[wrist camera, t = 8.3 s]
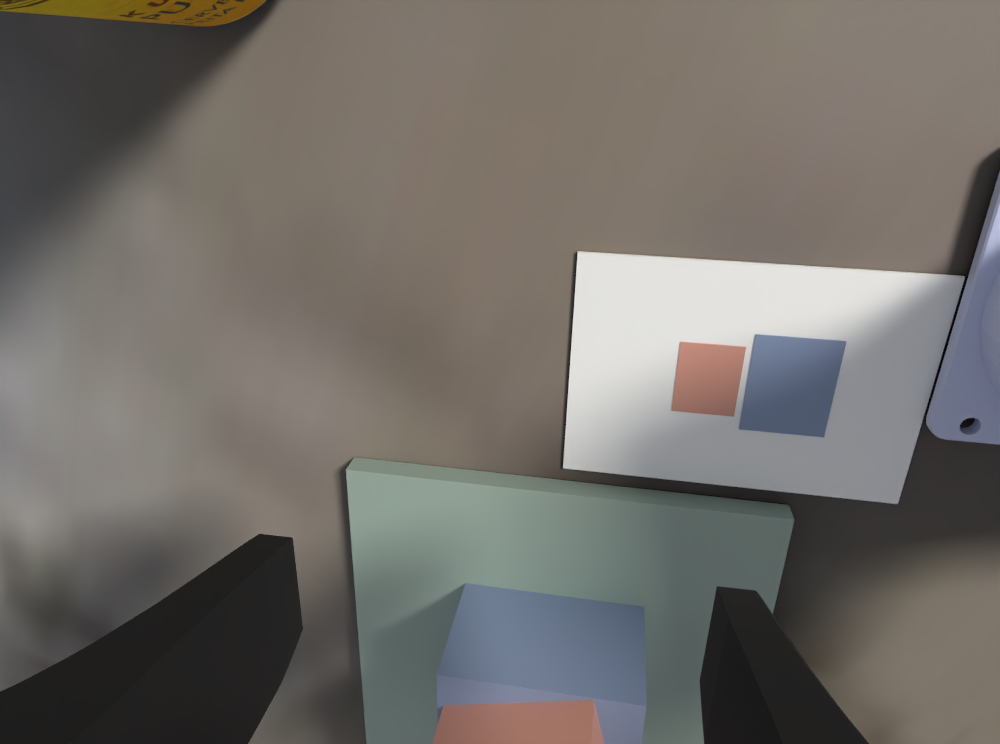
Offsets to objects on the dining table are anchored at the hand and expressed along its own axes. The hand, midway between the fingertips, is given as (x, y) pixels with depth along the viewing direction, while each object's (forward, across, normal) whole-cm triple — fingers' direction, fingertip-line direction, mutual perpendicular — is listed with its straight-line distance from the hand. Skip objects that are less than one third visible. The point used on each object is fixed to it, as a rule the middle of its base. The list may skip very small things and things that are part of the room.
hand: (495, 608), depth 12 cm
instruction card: (+10, -6, 0) cm, 12 cm away
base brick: (+10, -1, +11) cm, 15 cm away
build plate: (+10, -1, +11) cm, 15 cm away
